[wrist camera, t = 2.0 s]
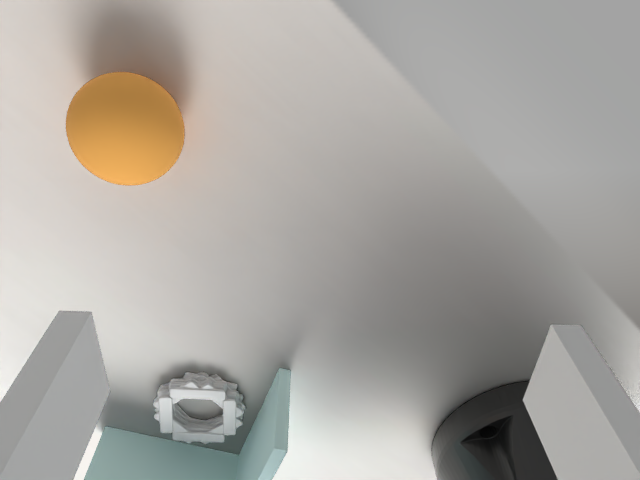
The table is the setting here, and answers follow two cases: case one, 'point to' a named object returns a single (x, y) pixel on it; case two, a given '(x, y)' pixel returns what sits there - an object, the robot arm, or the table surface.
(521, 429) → the robot arm
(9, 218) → the table surface
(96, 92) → the ball
